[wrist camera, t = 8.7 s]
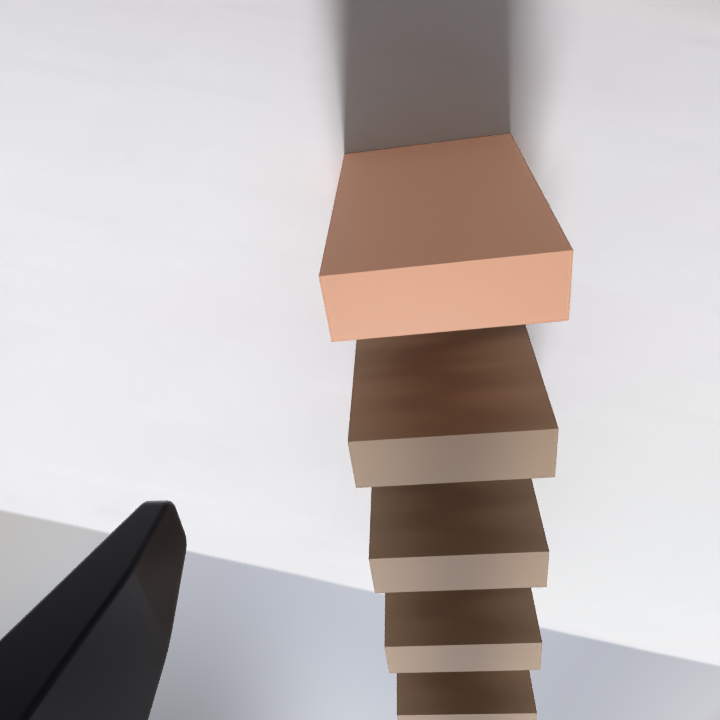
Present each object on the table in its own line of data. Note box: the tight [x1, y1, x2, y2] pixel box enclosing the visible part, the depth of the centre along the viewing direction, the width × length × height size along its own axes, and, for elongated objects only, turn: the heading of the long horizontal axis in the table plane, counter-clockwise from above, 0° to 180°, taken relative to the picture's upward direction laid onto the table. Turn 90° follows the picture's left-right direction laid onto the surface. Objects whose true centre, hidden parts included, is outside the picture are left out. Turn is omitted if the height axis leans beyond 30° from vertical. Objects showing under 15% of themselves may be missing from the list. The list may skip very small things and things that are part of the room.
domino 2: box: [348, 324, 558, 488], centre depth 19 cm, size 5×2×8 cm, turn 97°
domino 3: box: [369, 478, 549, 593], centre depth 21 cm, size 5×2×8 cm, turn 97°
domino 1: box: [319, 133, 573, 342], centre depth 16 cm, size 5×2×8 cm, turn 98°
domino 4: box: [385, 587, 542, 673], centre depth 24 cm, size 5×2×8 cm, turn 97°
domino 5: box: [397, 670, 537, 720], centre depth 26 cm, size 5×2×8 cm, turn 97°
